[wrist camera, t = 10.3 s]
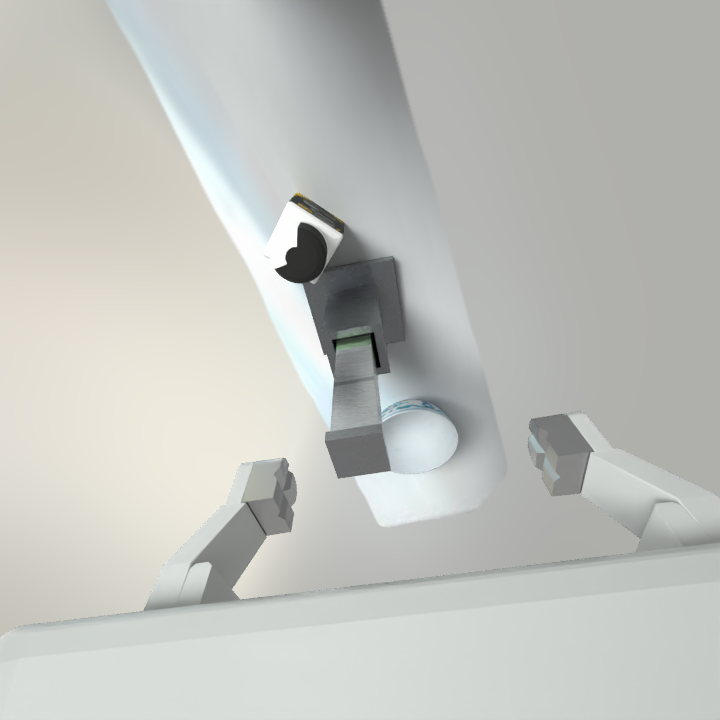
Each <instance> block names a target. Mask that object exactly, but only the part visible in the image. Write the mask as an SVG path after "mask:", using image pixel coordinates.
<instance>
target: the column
mask: <svg viewBox="0 0 720 720" xmlns="http://www.w3.org/2000/svg"><path fill="white" fill-rule="evenodd" d="M325 443H326V445H327V448H328V451H329V454H330V457H331V460H332V462H333V465H334V468H335V471H336V473H337V477H338V478H345V477H352V476H359V475H366V474H372V473H379V472H386V471H391V466H390V459H389V455H388V450H387V446H386V441H385V437H384V432H383V425H382V415H381V406H380V396H379V386H378V377H377V367H376V357H375V347H374V339H373V334H372V333H367V334H361V335H356V336H350V337H345V338H339V339H337V346H336V360H335V374H334V388H333V402H332V416H331V431H330V432H326V436H325Z"/></svg>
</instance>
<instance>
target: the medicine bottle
mask: <svg viewBox="0 0 720 720" xmlns="http://www.w3.org/2000/svg"><path fill="white" fill-rule="evenodd" d="M343 233H344V222H343V221H341V220H340V219H338V218H337V217H335V216H334V215H332V214H330V213H329V212H327V211H326V210H324V209H323V208H321V207H320V206H318V205H317V204H315V203H314V202H312V201H311V200H309V199H308V198H306V197H305V196H303V195H301V194H300V193H296V194H295V195H294V196H293V197H292V198H291V200H290V201H289V202H288V203H287V205H286V207H285V209H284V211H283V213H282V215H281V217H280V220H279V222H278V224H277V226H276V228H275V230H274V232H273V234H272V236H271V238H270V240H269V242H268V244H267V246H266V248H265V250H264V253H263V254H264V256H265V257H267V258H269V259H271V263H272V265H273V267H274V269H275V270H276V272H277V273H278V274H279V275H280V276H281V277H283V278H284V279H286V280H288V281H290V282H294V283H307V282H311V283H312V284H315V283H316V282H317V281H318V279H319V277H320V276H321V274H322V272H323V271H324V269H325V267H326V266H327V264H328V262H329V261H330V259H331V257H332V255H333V254H334V252H335V250H336V249H337V247H338V245H339V244H340V242H341V240H342V239H343Z"/></svg>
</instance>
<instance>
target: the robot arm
mask: <svg viewBox="0 0 720 720" xmlns="http://www.w3.org/2000/svg"><path fill="white" fill-rule="evenodd" d="M529 429H530V430H531V432H532V435H531V436H530V437H529V438H528V448H529V453H530V456H531V459H532V461H533V463H534V465H535V467H537V468H538V469H540V470H542V471H543V473H542V479H543V481H544V483H545V485H546V487H547V488H548V490H549V492H550V494H551V496H559V495H569V494H578V493H581V495H582V496H583V497H585V498H586V499H588V500H589V501H590V502H591V503H593V504H594V505H595V506H597V507H598V508H600V509H601V510H602V511H604V512H605V513H607V514H608V515H609V516H610V517H612V518H613V519H614V520H616V521H617V522H619V523H620V524H621V525H623V526H624V527H625V528H627V529H628V530H629V531H631V532H632V533H634V534H635V535H636V536H637V537H639V538H640V539H641V540H640V542H639V545H638V547H637V550H636V552H635V553H628V554H620V555H611V556H602V557H594V558H586V559H577V560H569V561H561V562H552V563H544V564H536V565H527V566H519V567H510V568H502V569H493V570H485V571H476V572H468V573H460V574H451V575H443V576H435V577H426V578H419V579H410V580H401V581H393V582H385V583H377V584H368V585H360V586H351V587H343V588H335V589H326V590H318V591H309V592H302V593H293V594H285V595H276V596H267V597H259V598H251V599H242V600H240V599H239V597H238V596H237V595H236V594H235V593H234V591H232V588H233V586H234V585H235V584H236V582H237V581H238V579H239V578H240V576H241V575H242V573H243V572H244V570H245V569H246V567H247V566H248V564H249V563H250V561H251V560H252V558H253V557H254V555H255V554H256V552H257V551H258V549H259V548H260V546H261V545H262V543H263V542H264V540H265V539H266V536H267V535H274V534H280V533H286V532H291V529H292V522H293V516H294V512H293V510H292V508H291V506H292V505H293V504H294V503H295V501H296V496H297V487H296V481H295V477H294V475H293V473H291V472H290V471H288V467H289V464H288V462H287V460H286V458H278V459H272V460H263V461H256V462H250V463H242V464H241V465H240V466H239V468H238V471H237V473H236V476H235V479H234V482H233V485H232V488H231V491H230V494H229V497H228V500H227V503H226V505H225V506H221V507H220V508H219V509H218V510H217V511H216V512H215V513H214V514H213V515H212V516H211V517H210V518H209V519H208V520H207V521H206V522H205V523H204V525H203V526H202V527H201V528H200V529H199V530H198V531H197V532H196V533H195V534H194V535H193V536H192V537H191V538H190V539H189V540H188V541H187V542H186V543H185V544H184V545H183V546H182V547H181V548H180V549H179V550H178V551H177V552H176V553H175V554H174V556H172V557H171V559H169V560H168V562H167V563H166V564H165V565H164V566H163V567H162V569H161V572H160V574H159V576H158V579H157V581H156V583H155V586H154V588H153V590H152V592H151V595H150V597H149V599H148V601H147V604H146V606H145V608H144V611H140V612H132V613H124V614H116V615H107V616H99V617H90V618H81V619H73V620H64V621H56V622H47V623H38V624H30V625H24V626H19V627H17V628H14V629H12V630H10V631H8V632H7V633H6V634H4V635H3V636H1V637H0V720H720V499H719V498H718V497H717V496H716V495H715V494H713V493H711V492H709V491H707V490H705V489H703V488H700V487H698V486H696V485H694V484H692V483H690V482H688V481H686V480H684V479H682V478H680V477H678V476H676V475H674V474H671V473H669V472H667V471H665V470H663V469H661V468H659V467H657V466H655V465H653V464H651V463H649V462H647V461H644V460H642V459H641V458H638V457H636V456H634V455H632V454H630V453H628V452H626V451H624V450H622V449H620V448H619V449H614V448H613V447H612V445H611V444H610V443H609V442H608V441H607V440H606V439H605V437H604V436H603V435H602V434H601V432H600V431H599V430H598V429H597V428H596V426H595V425H594V424H593V423H592V422H591V420H590V419H589V418H588V417H587V416H586V414H585V413H584V412H581V411H577V412H571V413H566V414H559V415H553V416H547V417H541V418H535V419H531V421H530V424H529Z"/></svg>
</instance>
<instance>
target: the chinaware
mask: <svg viewBox="0 0 720 720" xmlns="http://www.w3.org/2000/svg"><path fill="white" fill-rule="evenodd" d="M381 415H382V425H383V432H384V437H385V441H386V446H387V450H388V455H389V459H390V466H391V472H395V473H400V474H418V473H424V472H427V471H430V470H433V469H435V468H437V467H439V466H441V465H442V464H444V463H445V462H446V461H448V460H449V459H450V458H451V457H452V455H453V454H454V452H455V451H456V449H457V446H458V440H459V438H458V432H457V429H456V427H455V426H454V424H453V422H452V421H451V420H450V418H449V417H448V416H447V415H446V414H445V413H444V412H443V411H442V410H441V409H439V408H438V407H436V406H435V405H433V404H431V403H428V402H425V401H421V400H403V401H400V402H397V403H395V404H393V405H391V406H389V407H388V408H386V409H385V410H384V411H383V412H382V413H381Z"/></svg>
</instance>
